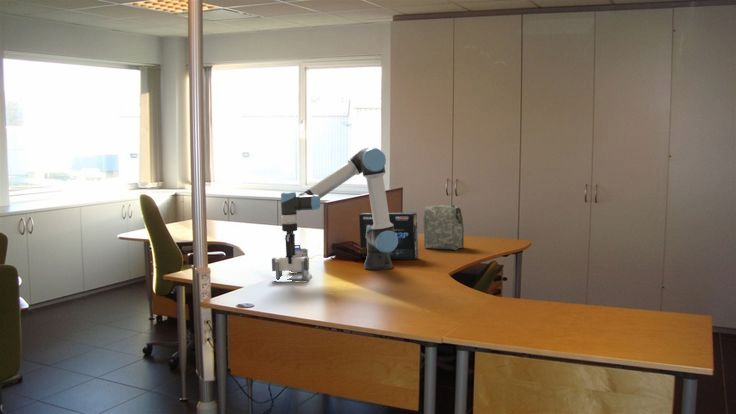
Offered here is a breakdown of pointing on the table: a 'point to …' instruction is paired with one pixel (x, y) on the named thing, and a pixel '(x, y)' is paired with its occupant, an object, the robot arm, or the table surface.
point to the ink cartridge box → (300, 254)
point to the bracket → (296, 277)
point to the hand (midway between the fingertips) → (291, 269)
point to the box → (403, 229)
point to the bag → (443, 227)
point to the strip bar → (296, 263)
